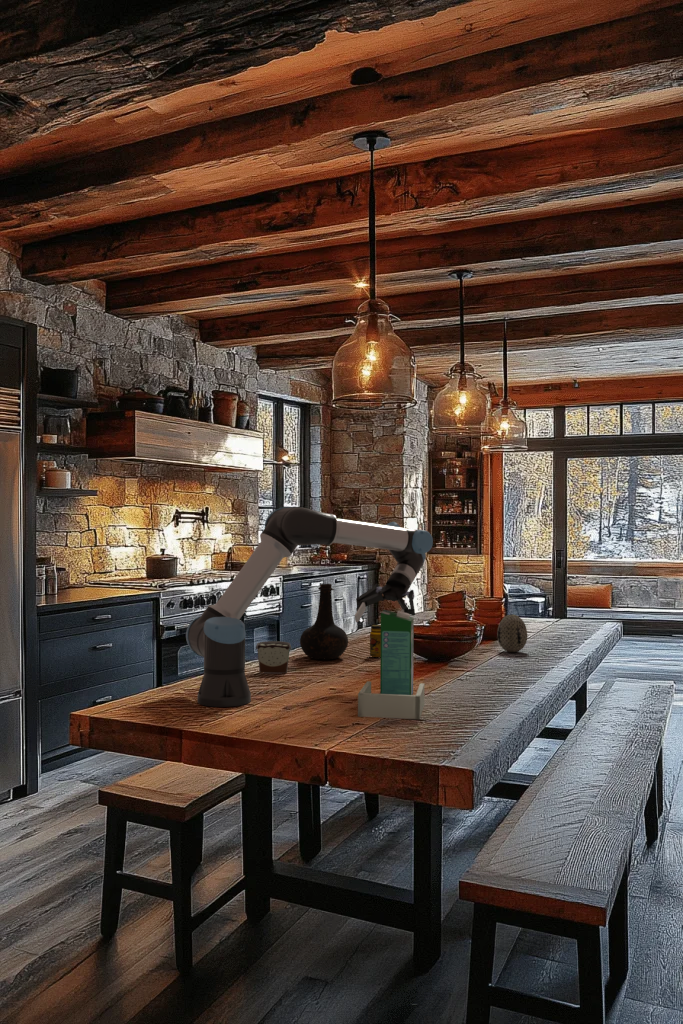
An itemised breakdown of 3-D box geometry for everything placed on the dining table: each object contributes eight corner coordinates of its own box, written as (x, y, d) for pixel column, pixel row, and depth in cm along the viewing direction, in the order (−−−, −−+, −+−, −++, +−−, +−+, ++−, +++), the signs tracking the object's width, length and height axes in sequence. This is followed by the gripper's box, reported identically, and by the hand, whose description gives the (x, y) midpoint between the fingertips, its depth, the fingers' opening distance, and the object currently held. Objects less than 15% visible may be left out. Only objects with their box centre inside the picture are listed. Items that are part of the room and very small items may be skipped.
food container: (294, 670, 286) (294, 641, 286) (291, 673, 280) (291, 644, 280) (258, 669, 287) (259, 640, 287) (255, 672, 281) (255, 643, 281)
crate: (419, 719, 217) (419, 696, 217) (357, 716, 220) (358, 693, 220) (424, 704, 234) (424, 683, 234) (366, 702, 237) (367, 681, 237)
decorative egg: (532, 654, 323) (532, 615, 323) (505, 655, 320) (505, 616, 320) (518, 649, 334) (518, 612, 335) (492, 650, 331) (492, 613, 331)
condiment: (366, 657, 313) (366, 626, 313) (373, 654, 321) (373, 623, 321) (384, 659, 310) (384, 627, 310) (391, 655, 318) (391, 624, 318)
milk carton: (410, 698, 242) (411, 613, 242) (380, 697, 243) (380, 612, 243) (413, 692, 251) (413, 609, 251) (383, 691, 252) (384, 609, 252)
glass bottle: (290, 659, 308) (291, 583, 309) (318, 652, 323) (318, 581, 323) (330, 664, 298) (330, 586, 299) (356, 657, 313) (357, 583, 314)
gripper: (437, 595, 272) (414, 638, 256) (368, 583, 282) (342, 624, 267) (434, 577, 267) (411, 620, 252) (364, 566, 278) (338, 607, 263)
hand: (375, 622), depth 260 cm, fingers open, 13 cm apart
